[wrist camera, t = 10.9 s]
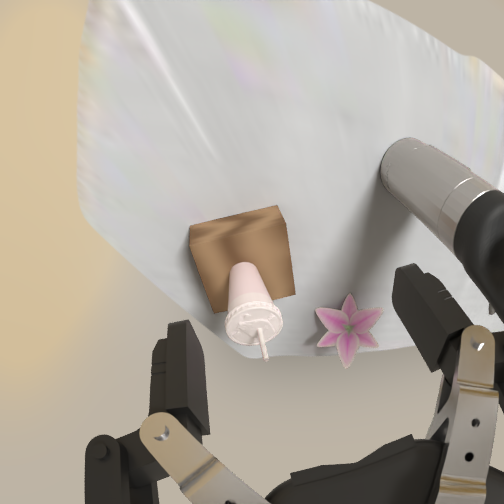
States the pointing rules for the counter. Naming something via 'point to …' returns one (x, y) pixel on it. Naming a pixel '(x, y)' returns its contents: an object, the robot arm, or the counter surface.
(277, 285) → the walnut block
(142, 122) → the counter surface
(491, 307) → the cell phone
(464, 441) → the robot arm
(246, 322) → the smoothie
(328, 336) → the lily
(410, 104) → the counter surface
